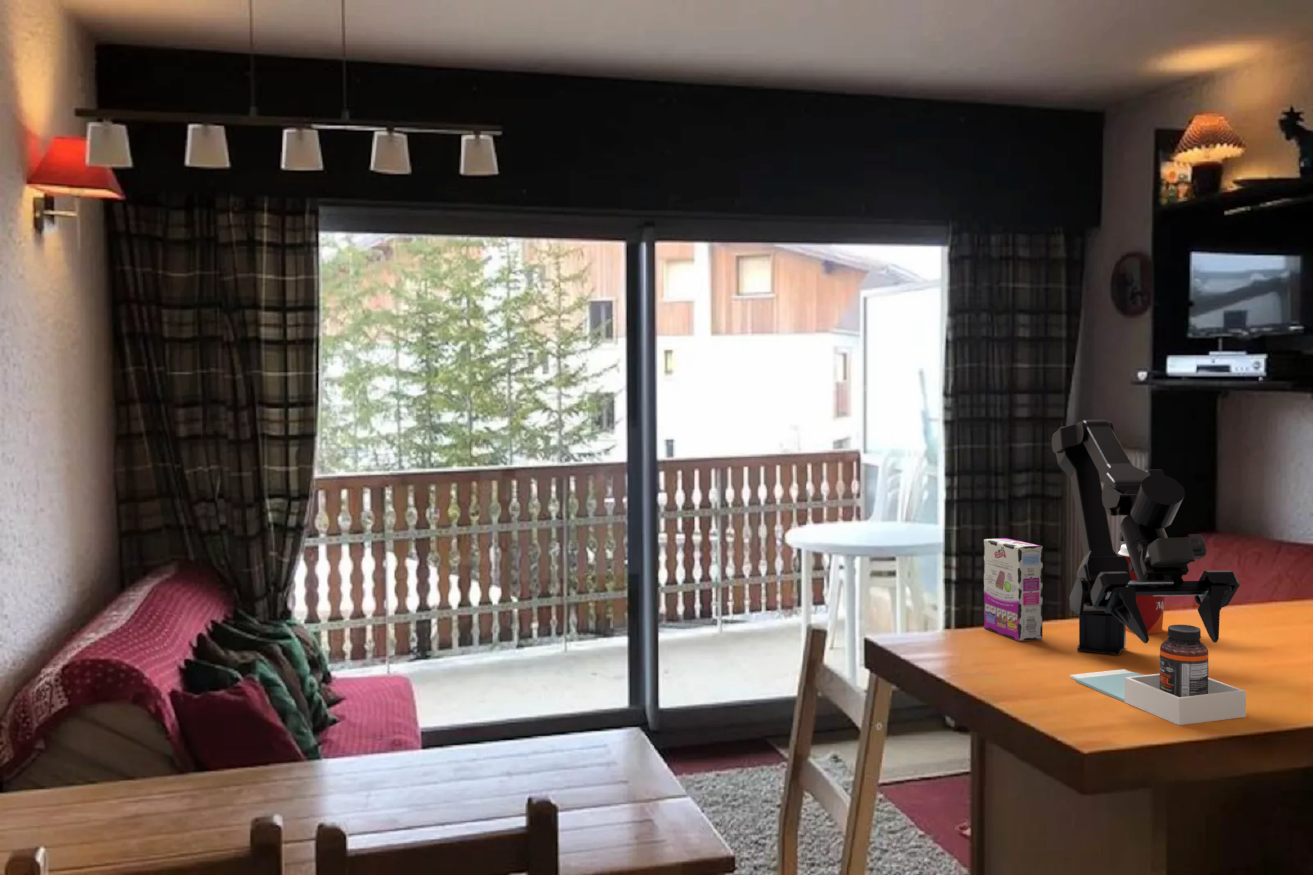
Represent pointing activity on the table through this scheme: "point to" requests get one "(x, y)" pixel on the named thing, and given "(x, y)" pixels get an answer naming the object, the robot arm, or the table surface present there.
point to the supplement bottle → (1184, 662)
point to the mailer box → (1168, 697)
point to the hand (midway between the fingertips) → (1181, 641)
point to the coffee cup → (1147, 603)
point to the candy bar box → (1013, 588)
